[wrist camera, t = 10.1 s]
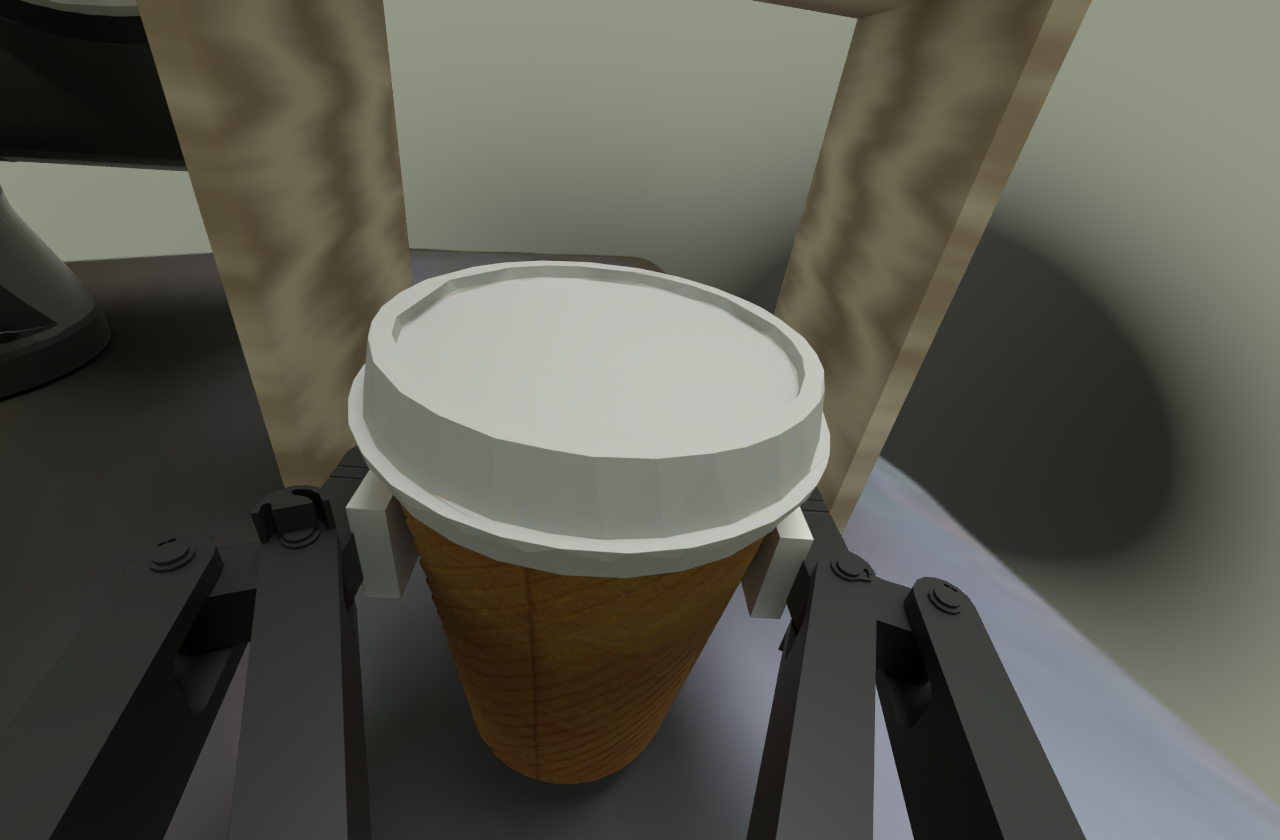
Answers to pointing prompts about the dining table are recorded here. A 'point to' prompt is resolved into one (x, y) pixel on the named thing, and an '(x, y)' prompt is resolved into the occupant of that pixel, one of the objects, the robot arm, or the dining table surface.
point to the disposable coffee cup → (584, 485)
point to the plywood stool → (376, 221)
